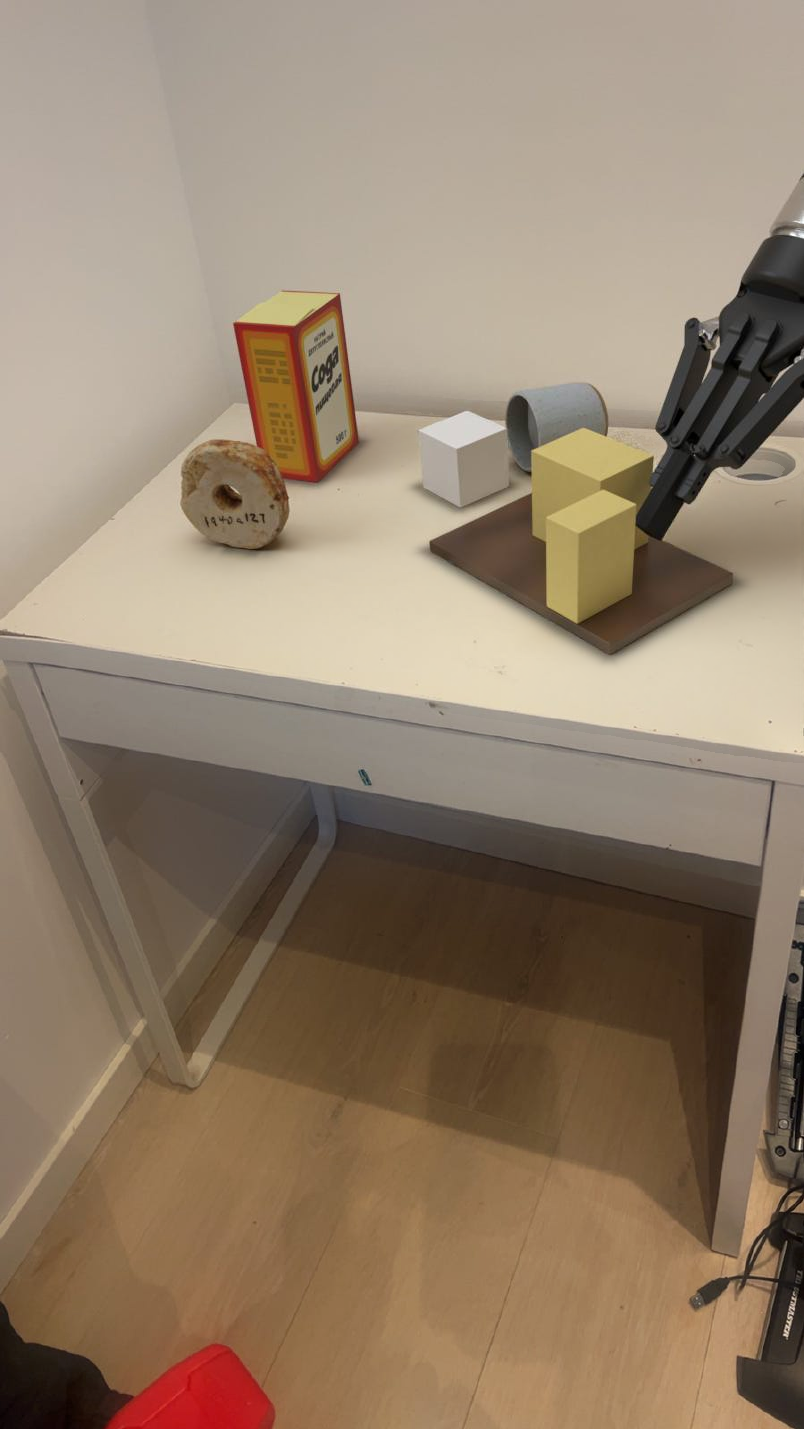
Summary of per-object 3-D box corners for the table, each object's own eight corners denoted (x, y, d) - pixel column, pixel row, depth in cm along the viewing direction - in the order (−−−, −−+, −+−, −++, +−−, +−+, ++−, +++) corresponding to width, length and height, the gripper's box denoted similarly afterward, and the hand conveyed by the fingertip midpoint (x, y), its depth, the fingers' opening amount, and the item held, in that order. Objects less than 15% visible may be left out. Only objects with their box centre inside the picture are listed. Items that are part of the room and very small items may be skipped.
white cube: (470, 467, 105) (467, 410, 101) (509, 486, 101) (507, 428, 97) (422, 487, 102) (417, 429, 98) (460, 508, 98) (456, 448, 94)
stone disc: (303, 536, 97) (286, 436, 90) (286, 557, 94) (267, 454, 88) (207, 525, 100) (183, 428, 94) (187, 545, 98) (162, 445, 91)
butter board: (732, 583, 84) (734, 572, 83) (610, 655, 78) (610, 644, 78) (545, 495, 98) (545, 486, 98) (429, 550, 93) (429, 540, 92)
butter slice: (632, 594, 82) (637, 503, 77) (577, 624, 80) (578, 533, 75) (600, 577, 85) (603, 488, 80) (546, 606, 82) (545, 516, 77)
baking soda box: (306, 436, 114) (281, 286, 104) (358, 442, 111) (339, 289, 101) (262, 475, 107) (232, 319, 97) (317, 482, 105) (292, 323, 95)
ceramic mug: (613, 462, 102) (615, 386, 97) (539, 484, 100) (538, 407, 95) (559, 426, 110) (559, 355, 105) (490, 445, 108) (486, 373, 103)
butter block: (648, 542, 88) (654, 455, 83) (598, 569, 86) (600, 480, 81) (581, 511, 93) (583, 427, 88) (532, 535, 91) (530, 450, 86)
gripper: (901, 301, 78) (731, 578, 81) (757, 270, 86) (608, 521, 90) (872, 244, 72) (690, 544, 75) (721, 217, 80) (564, 487, 84)
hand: (646, 531), depth 83 cm, fingers closed
